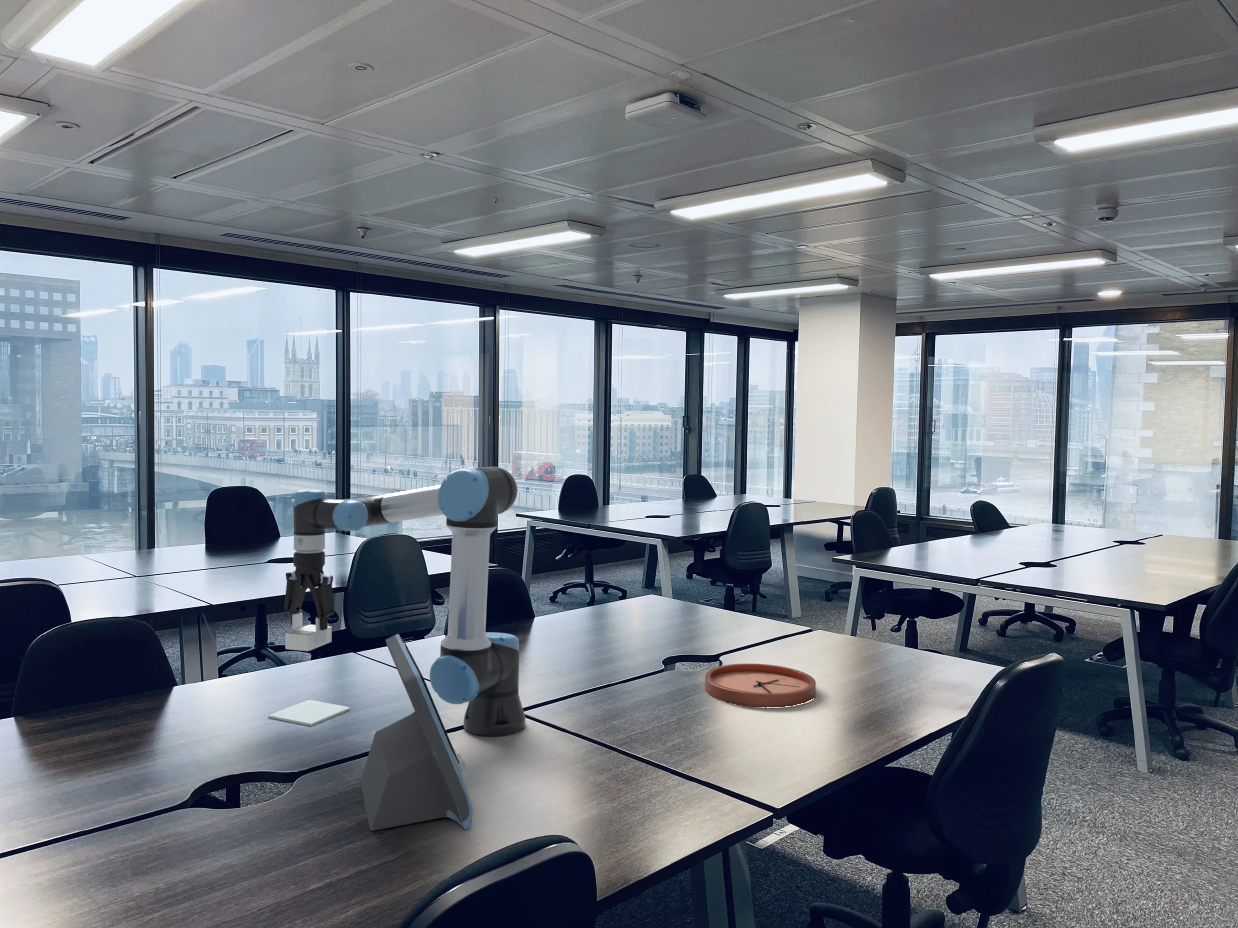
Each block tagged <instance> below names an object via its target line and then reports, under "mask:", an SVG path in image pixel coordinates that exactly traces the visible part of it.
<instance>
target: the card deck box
mask: <svg viewBox="0 0 1238 928" xmlns="http://www.w3.org/2000/svg"><path fill="white" fill-rule="evenodd" d="M332 628H333V626H329V625H328V628H327V629H326V642H323V643H319V644H316V624H308V625H305V626H303V627H301V628H298V629H296V630H292V629H291V630H288V631H286V632H285V634H284V635H285V641H284V642H285V646H284V647H285V650H291V651H305V652H310V651H313V650H315V649H317V648H319V647H322V646H324V645H327V644H329V643H332V639H333V638H332V633H333V632H332V631H333V629H332Z"/></svg>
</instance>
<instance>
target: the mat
mask: <svg viewBox="0 0 1238 928" xmlns="http://www.w3.org/2000/svg"><path fill="white" fill-rule="evenodd" d="M350 710H351V707H350V706H345V705H341V704H340V705H339V704H334V703H329V702H323V701H317V700H312V699H307V700H305V701H302V702H300V703H297V704H294V705H291V706H289V707H286V708H284V709H281V710H279V711H275V712H274V713H271V714H268V715H267V717H268V718H269V719H274V720H279V721H285V722H290V723H294V724H299V725H304V726H310V727H313V726H315V725H317V724H319V723H322V722H325V721H327V720H329V719H331V718H334V717H336V716H339V715H341V714H344V713H346V712H348V711H350Z"/></svg>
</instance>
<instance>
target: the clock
mask: <svg viewBox="0 0 1238 928" xmlns="http://www.w3.org/2000/svg"><path fill="white" fill-rule="evenodd" d="M816 688H817V682H816V680H815V678H814V677H812V676H811V675H810V674H808V673H806V672H804V671H801V670H797V669H795V668H791V667H787V666H782V665H781V666H780V665H775V664H774V665H773V664H765V663H732V664H724V665H720V666H716V667H714V668H711V669H709V670H707V671H706V672H705V675H704V690H705V691H704V692H705V693H706V694H708V696H710V697H712V698H713V699H716V700H717V701H718V700H719V701H721V702H723V701H724V703H727V704H730V703H731V704H730V705H734V704H736V705H735V706H739V705H742V707H746V706H748V707H747V708H754V707H765V708H764V709H767V708H766V707H785V706H793V705H797V704H801V703H805V702H807V701H809V700H811V699H813V698H814V697H815V698H816V696H815V694H817V693H816V692H817V689H816Z"/></svg>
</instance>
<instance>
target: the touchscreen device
mask: <svg viewBox="0 0 1238 928" xmlns="http://www.w3.org/2000/svg"><path fill="white" fill-rule="evenodd" d="M385 644H386V646H387V648H388V651H389V653H390V656H391V658H392V660H393V663H394V665H395V668H396V670H397V672H398V675H399V677H400V679H401V681H402V684H403V687H404V688H405V691H406V694H407V696H408V698H409V701H410V703H411V706H412V708H413V709H414V711H413V713H410V714H409V715H407V716H404V717H403V718H401V719H399V720H397V721H395V722H393V723H392V724H389V725H387V726H385V727H383V728H381V729H379V730H376V731H375V733H374V737H373V739H372V742H371V745H370V749H369V751H368V754H367V755H368V756H367V758H366V762H365V765H364V768H363V771H362V774H361V776H360V780H359V781H360V788H361V793H362V796H363V797H362V798H363V803H364V808H365V812H366V816H367V817H366V818H367V822H368V828H369V831H371V832H373V831H378V830H383V829H390V828H394V827H400V826H406V825H409V824H415V823H421V822H425V821H431V820H436V819H442V818H449V819H451V820H453V821H455V822H456V823H458V824H459V825H460V826H461V827H462V829H464V830H467V829H469V828H470V827H471V826H472V821H473V814H474V809H473V806H472V802H471V800H470V799H471V798H470V795H469V792H468V788H467V787H468V786H467V785H466V782H465V780H464V777H463V774H462V772H465V771H467V770H468V766H467V765H466V762H465V760H464V759H463V756H462V755H461V753H460V752H459V753H457V752H456V749H455V748H454V746H453V744H452V742H451V739H450V737H449V735H448V732H447V730H446V728H445V726H444V725H445V724H444V722H443V721H442V718H441V716H440V713H439V711H438V709H437V706H436V705H435V702H434V699H433V697H432V694H431V692H430V690H429V687H428V685H427V682H426V680H425V678H424V676H423V674H422V672H421V670H420V668H419V666H418V665H417V662H416V660H415V658H414V657H413V655H412V653H411V651H410V649H409V647H408V645H407V643H406V641H405V640H404V638H403V637H401V636H400V634H399V633H397V634H395V635H392V636H390V637H388V638H386V639H385Z"/></svg>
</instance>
